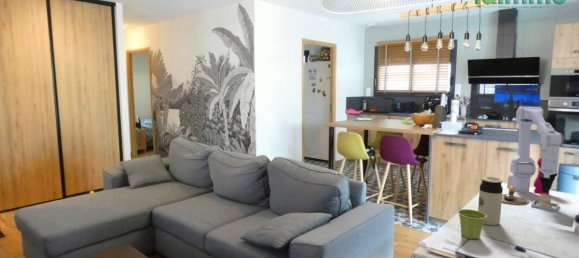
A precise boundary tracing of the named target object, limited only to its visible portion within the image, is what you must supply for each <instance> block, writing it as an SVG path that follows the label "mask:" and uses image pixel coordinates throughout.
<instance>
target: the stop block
mask: <svg viewBox="0 0 579 258" xmlns="http://www.w3.org/2000/svg"><path fill="white" fill-rule="evenodd" d="M538 200H539V203H538V206H543V207H549V208H551V206H552V205H551V203H552V194H549V195H547V194H539V198H538Z"/></svg>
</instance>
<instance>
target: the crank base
mask: <svg viewBox="0 0 579 258" xmlns="http://www.w3.org/2000/svg"><path fill="white" fill-rule="evenodd" d="M504 195H505V194H504V193H502V203H501V204H504V205H509V206H519V207H520V206H527V205H529V204H530V202H529V200H528V199H525V198H522V197H520V196H517V195H514V200H506V199H504Z"/></svg>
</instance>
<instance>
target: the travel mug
mask: <svg viewBox="0 0 579 258" xmlns="http://www.w3.org/2000/svg"><path fill="white" fill-rule="evenodd" d="M480 179H481V183H480V185H479V192H478V194H479V195H478V206H477V211H479V212H482V213H484V214H486V215H487V217H486V218H485V221H484V223H483V225H486V226H498V225H500V223H501V215H502V214H501V213H502V204H503V203H502V194H503V192H504V191H503V190H504V189H503V188H504V187H503V186H502V183H503V182H504V180H503V178H500V177H495V176H482V177H480Z"/></svg>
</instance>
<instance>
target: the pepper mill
mask: <svg viewBox="0 0 579 258" xmlns="http://www.w3.org/2000/svg"><path fill="white" fill-rule="evenodd" d="M541 164H542V157H540V158H539V159H538V160H537V169H538V168H540V169H541ZM539 175H541V176H543V175H542V172H541V171H538V175H537V176H536V178H535V180H534V181H533V186H534V191H533V193H534V194H536V195H537V194H538V195H540V194H547V195H550V192H549V193H544V192H542V185H541V181H540V179H539Z"/></svg>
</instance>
